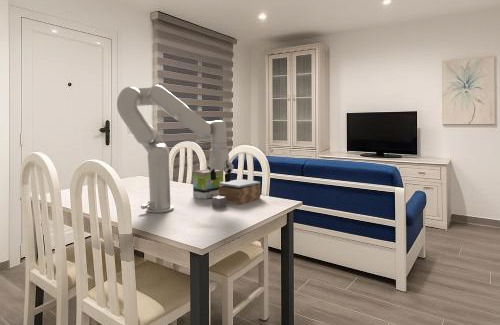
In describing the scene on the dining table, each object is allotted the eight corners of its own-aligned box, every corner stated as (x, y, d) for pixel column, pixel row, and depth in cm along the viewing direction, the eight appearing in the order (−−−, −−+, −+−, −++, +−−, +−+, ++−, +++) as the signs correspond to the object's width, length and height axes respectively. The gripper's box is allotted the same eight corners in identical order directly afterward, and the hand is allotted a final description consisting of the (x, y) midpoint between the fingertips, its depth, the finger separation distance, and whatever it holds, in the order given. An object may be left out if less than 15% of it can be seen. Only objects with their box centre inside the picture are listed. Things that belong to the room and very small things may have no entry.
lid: (238, 187, 176) (238, 185, 176) (218, 184, 184) (218, 182, 184) (260, 183, 190) (260, 181, 189) (240, 180, 198) (240, 179, 198)
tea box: (205, 199, 189) (205, 172, 187) (192, 197, 195) (192, 170, 193) (224, 194, 201) (223, 169, 199) (211, 192, 207) (211, 167, 205)
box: (238, 204, 177) (238, 189, 176) (218, 200, 186) (218, 186, 185) (260, 198, 191) (260, 184, 190) (240, 194, 199) (240, 181, 198)
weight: (219, 208, 170) (219, 198, 169) (212, 207, 173) (212, 197, 172) (226, 206, 173) (226, 196, 173) (219, 205, 176) (219, 195, 176)
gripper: (201, 146, 172) (202, 180, 174) (226, 147, 161) (228, 183, 163) (211, 145, 178) (213, 178, 180) (237, 146, 167) (238, 181, 169)
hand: (220, 180), depth 171 cm, fingers open, 9 cm apart
